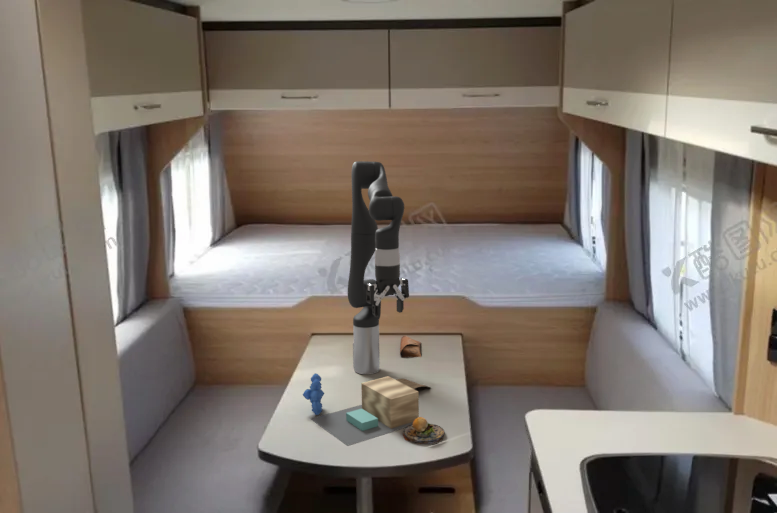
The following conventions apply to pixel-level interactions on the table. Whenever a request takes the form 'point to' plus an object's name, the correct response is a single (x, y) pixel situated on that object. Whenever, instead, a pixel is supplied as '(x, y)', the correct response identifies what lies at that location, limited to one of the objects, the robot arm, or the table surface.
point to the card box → (362, 419)
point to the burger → (423, 432)
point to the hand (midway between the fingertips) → (388, 314)
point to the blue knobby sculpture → (315, 394)
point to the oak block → (390, 401)
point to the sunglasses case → (409, 347)
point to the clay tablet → (410, 383)
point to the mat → (351, 427)
